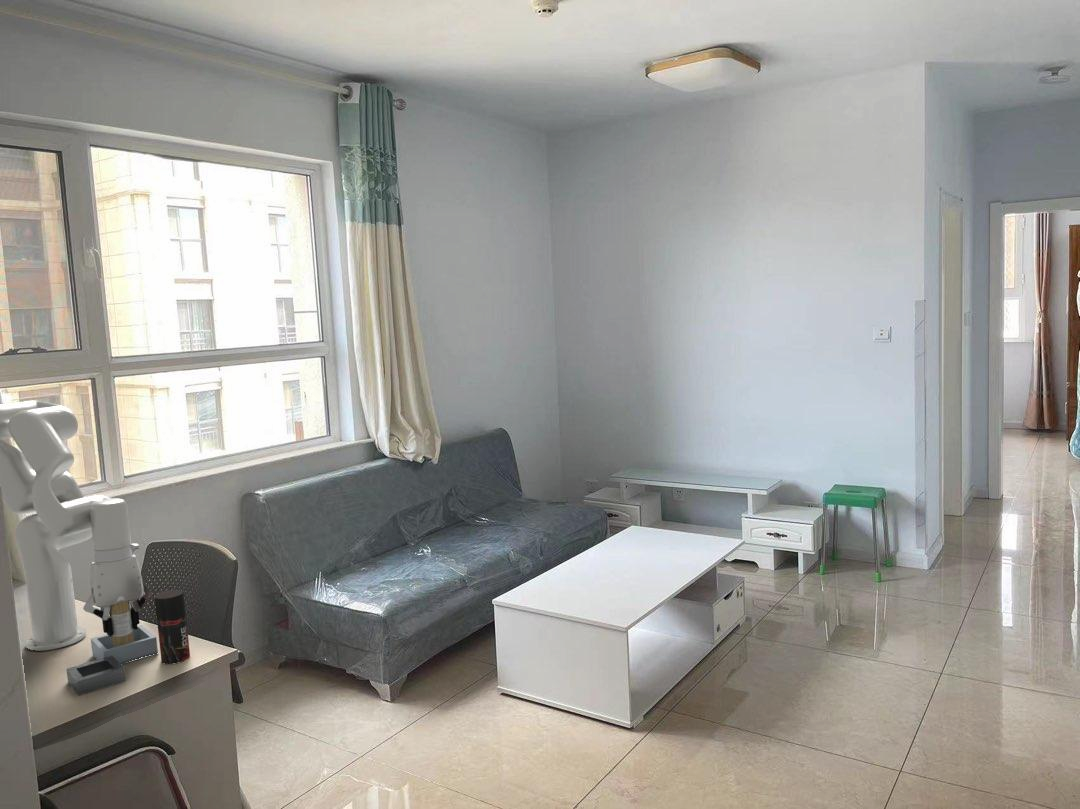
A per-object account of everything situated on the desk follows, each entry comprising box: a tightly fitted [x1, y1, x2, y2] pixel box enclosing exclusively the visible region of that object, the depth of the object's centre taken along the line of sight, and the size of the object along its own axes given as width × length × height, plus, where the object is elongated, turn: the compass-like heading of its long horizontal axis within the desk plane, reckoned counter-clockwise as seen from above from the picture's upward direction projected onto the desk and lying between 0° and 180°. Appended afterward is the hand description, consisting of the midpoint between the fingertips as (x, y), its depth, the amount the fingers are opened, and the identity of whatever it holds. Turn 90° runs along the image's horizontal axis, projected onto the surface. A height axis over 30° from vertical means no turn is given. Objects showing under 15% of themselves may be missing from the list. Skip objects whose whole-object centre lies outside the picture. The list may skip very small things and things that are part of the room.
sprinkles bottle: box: [109, 596, 134, 648], centre depth 186 cm, size 5×5×14 cm
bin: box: [90, 624, 159, 665], centre depth 187 cm, size 11×11×4 cm
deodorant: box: [154, 589, 191, 665], centre depth 183 cm, size 6×6×15 cm
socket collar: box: [65, 656, 126, 697], centre depth 173 cm, size 9×9×3 cm
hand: (122, 630), depth 187 cm, fingers open, 4 cm apart
